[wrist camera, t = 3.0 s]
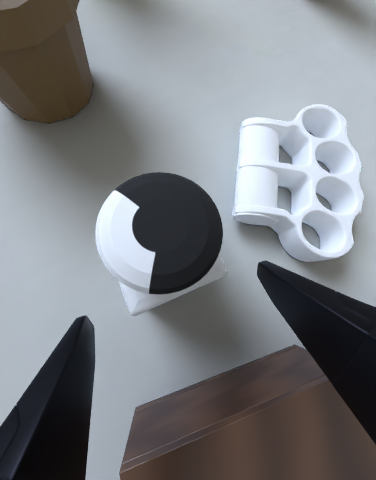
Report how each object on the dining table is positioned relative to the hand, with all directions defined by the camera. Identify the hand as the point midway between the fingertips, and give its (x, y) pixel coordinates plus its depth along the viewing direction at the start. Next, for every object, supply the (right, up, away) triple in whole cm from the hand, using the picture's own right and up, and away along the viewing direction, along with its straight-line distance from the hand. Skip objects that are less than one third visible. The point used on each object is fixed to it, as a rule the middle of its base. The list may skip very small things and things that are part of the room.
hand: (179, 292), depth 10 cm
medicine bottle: (-2, +1, +10) cm, 11 cm away
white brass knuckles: (+13, +9, +14) cm, 21 cm away
